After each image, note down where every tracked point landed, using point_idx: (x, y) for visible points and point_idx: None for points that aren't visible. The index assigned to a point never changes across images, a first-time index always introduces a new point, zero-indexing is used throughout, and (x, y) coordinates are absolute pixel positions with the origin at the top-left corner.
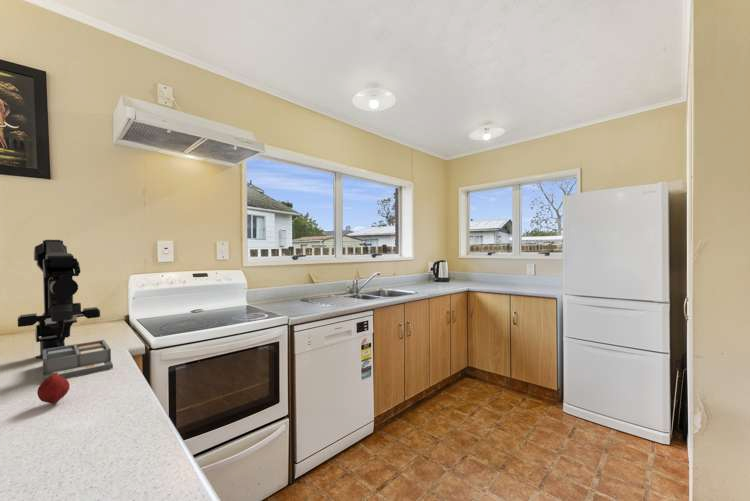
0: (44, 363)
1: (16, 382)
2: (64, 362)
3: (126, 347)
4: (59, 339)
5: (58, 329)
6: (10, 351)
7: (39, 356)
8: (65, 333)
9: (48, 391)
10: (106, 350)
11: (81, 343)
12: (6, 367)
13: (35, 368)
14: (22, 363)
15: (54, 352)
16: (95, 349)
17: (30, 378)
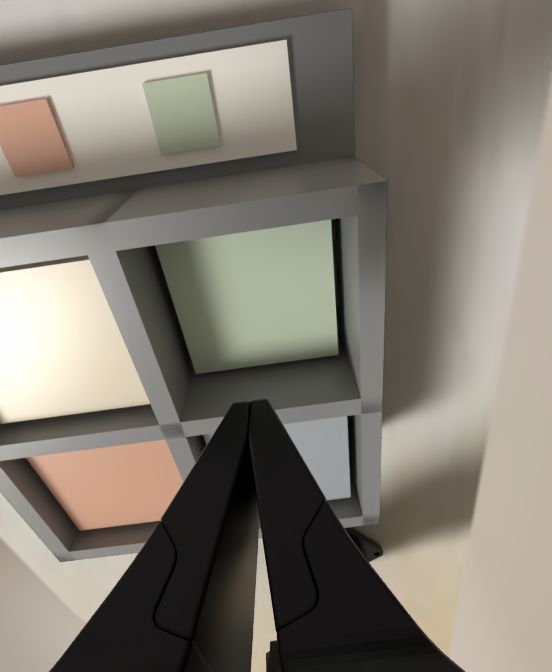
0: (370, 177)
1: (483, 196)
2: (217, 190)
3: (19, 525)
4: (272, 431)
5: (293, 604)
6: (443, 629)
7: (370, 547)
8: (188, 510)
9: None
10: None
11: None
12: (478, 488)
13: (384, 415)
14: (424, 508)
15: (315, 467)
16: (44, 403)
17: (412, 236)
